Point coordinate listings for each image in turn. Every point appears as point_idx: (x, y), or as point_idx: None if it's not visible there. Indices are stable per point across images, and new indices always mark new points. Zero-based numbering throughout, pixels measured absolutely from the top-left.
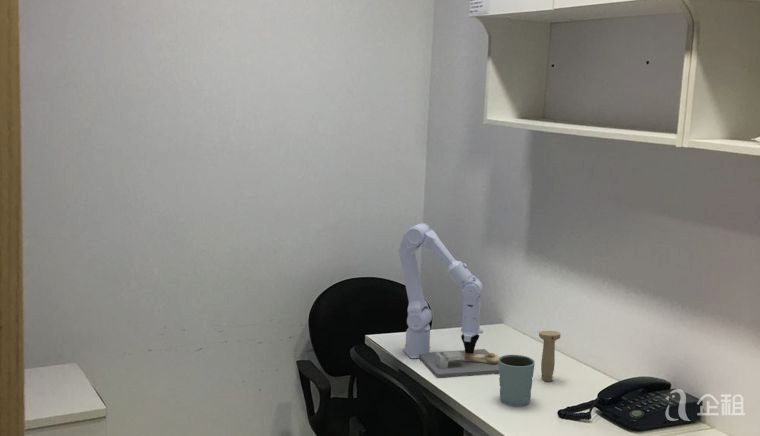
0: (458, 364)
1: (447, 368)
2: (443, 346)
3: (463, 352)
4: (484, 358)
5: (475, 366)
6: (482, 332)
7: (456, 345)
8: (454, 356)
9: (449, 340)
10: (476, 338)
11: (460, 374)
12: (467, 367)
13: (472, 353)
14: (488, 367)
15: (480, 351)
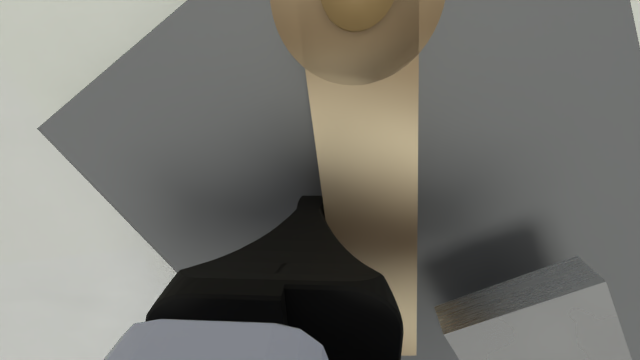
0: (480, 258)
1: None
2: None
3: (211, 257)
4: (415, 78)
5: (508, 137)
6: (276, 348)
7: (63, 294)
8: (617, 351)
9: (15, 330)
10: (363, 314)
11: None
12: (542, 193)
13: (321, 209)
14: (523, 9)
15: (117, 151)
